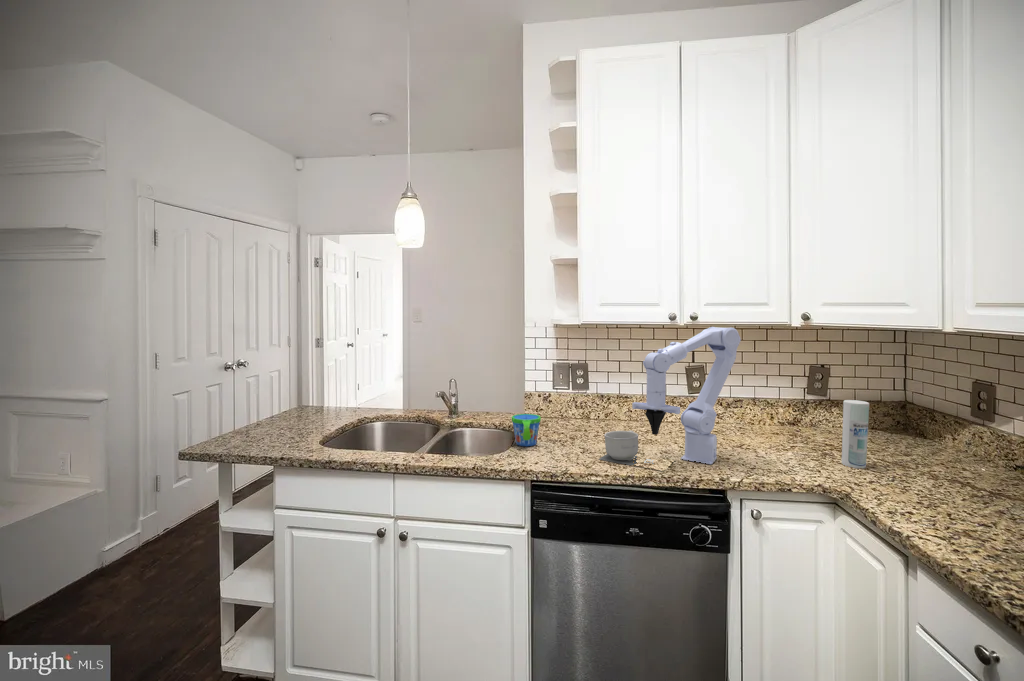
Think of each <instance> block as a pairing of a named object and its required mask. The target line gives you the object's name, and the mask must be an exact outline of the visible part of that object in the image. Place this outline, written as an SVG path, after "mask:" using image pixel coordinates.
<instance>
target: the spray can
mask: <svg viewBox="0 0 1024 681" xmlns="http://www.w3.org/2000/svg"><path fill="white" fill-rule="evenodd" d="M869 414H870V403H869V402H867V401H864V400H856V399H845V400H843V404H842V435H841V436H842V437H841V465H842V464H843V465H842V466H844V465H845V467H847V466H848V468H851V467H853V468H852V469H860V468H862V469H866V468H867V457H868V456H867V454H868V437H869V435H868V434H869V420H870V419H869V416H870V415H869Z"/></svg>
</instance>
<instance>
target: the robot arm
mask: <svg viewBox="0 0 1024 681" xmlns="http://www.w3.org/2000/svg"><path fill="white" fill-rule="evenodd" d="M741 342H742V339H741V337H740V333H739V331H738V329H736V328H734V327H731V326H730V327H721V326H720V327H719V326H718V327H716V326H710V327H708V328H705V329H703V330H702V331H701V332H699V333H697V334H696V335H694V336H692V337H691V338H689V339H687V340H685V341H682V342H680V341H671V342H670V343H669V345H668V346H665V347H663V348H658V349H657V352H649V353H648V354H647V355H645V357H644V360H643V361H642V366H643V368H644V369H645V370H646V372H645V374H646V396H645V397H646V402H638V401H634V402H632V403H631V404H632V406H631V407H632V408H631V409H632V410H642V411H643V410H644V411H646V412H645V413H644V415H645V417H646V418H647V421H648V423H649V427H650V430H651V434H652V435H656V436H657V435H659V432H660V427H661V424H662V422H663V420H664V417H665V416H666V414H668V413H669V414H674V415H680V413H681V406H677V405H676V406H675V405H670V404H666V391H667V389H666V386H667V385H666V383H667V382H666V381H667V371H669V369H670V367H671V366H673V365H674V364H676V363H678V362H680V361H682V360H684V359H686V358H687V356H688V353H690V352H693V351H695V350H697V349H698V348H702V347H703V346H706V345H707V346H708V347H709V349H710V350H711V351H712V353H713V354H714V356H715V360H714V361H713V364H712V366H711V368H710V370H709V372H708V374H707V377H706V379H705V381H704V383H703V385H702V387H701V390H700V391H699V394H698V396H697V398H696V399H695V400H694V401H692V402H690V403H689V404H688V405H687V407H686V409H685V410H684V411H683V412H682V413H681V415H680V422H681V424H682V426H683V427H684V428H683V429H684V434H685V435H684V454H683V455H682V456H681V457H680V460H682V459H683V461H688V460H689V461H688V462H694V461H696V462H695V463H699V462H701V464H705V463H706V464H707V465H713V464H714V462H716V460H717V459H718V457H717V452H718V451H717V445H718V444H717V442H718V440H717V438H718V437H717V435H716V434H714V433H711V432H713V429H714V428H715V421H716V418H717V416H718V414H717V412H716V411H715V409H714V406H715V405H716V403H717V400H718V398H719V395H720V393H721V392H722V390H723V387H724V385H725V383H726V381H727V379H728V377H729V374H730V372H731V371H732V368H733V365H734V364H735V361H736V358H737V352H738V351H737V350H738V347H739V346H740V343H741Z"/></svg>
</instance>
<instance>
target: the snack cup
mask: <svg viewBox="0 0 1024 681" xmlns="http://www.w3.org/2000/svg"><path fill="white" fill-rule="evenodd" d="M541 420H542V417H541V416H540V415H538V414H534V413H533V414H532V413H520V414H518V413H517V414H514V415H512V416H511V422H512V426H513V427H512V428H513V433H514V439H515V443H516V445H517V446H520V447H532V446H536V445H537V442H538V436H539V432H540V431H539V429H540V424H541V422H542V421H541Z"/></svg>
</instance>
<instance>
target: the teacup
mask: <svg viewBox="0 0 1024 681" xmlns="http://www.w3.org/2000/svg"><path fill="white" fill-rule="evenodd" d="M604 444H605V445H604V446H605V447H604V448H605V452H606V454H608V455H609V456H611V457H612V458H613V459H616V460H630V459H632V458H633V457H634V456H635V455H636V454H637V453H638V451H639V433H638V432H635V431H634V430H612V431H607V432H605V433H604ZM638 454H639V453H638Z"/></svg>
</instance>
